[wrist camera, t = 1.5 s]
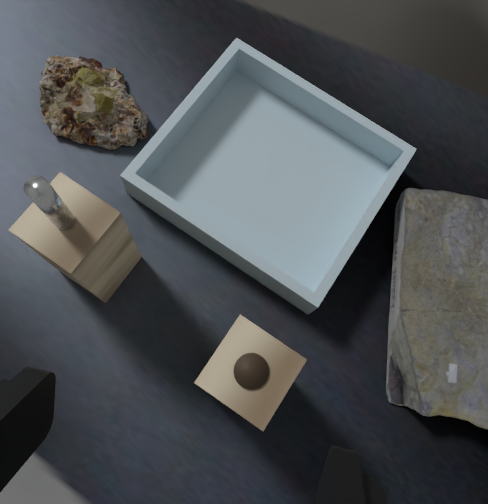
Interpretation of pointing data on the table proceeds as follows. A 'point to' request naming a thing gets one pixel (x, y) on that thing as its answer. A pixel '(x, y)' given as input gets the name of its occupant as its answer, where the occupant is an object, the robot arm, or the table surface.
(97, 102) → the mineral rock
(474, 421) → the fossil
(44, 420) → the robot arm
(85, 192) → the block
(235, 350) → the block
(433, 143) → the table surface
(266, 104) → the tray
